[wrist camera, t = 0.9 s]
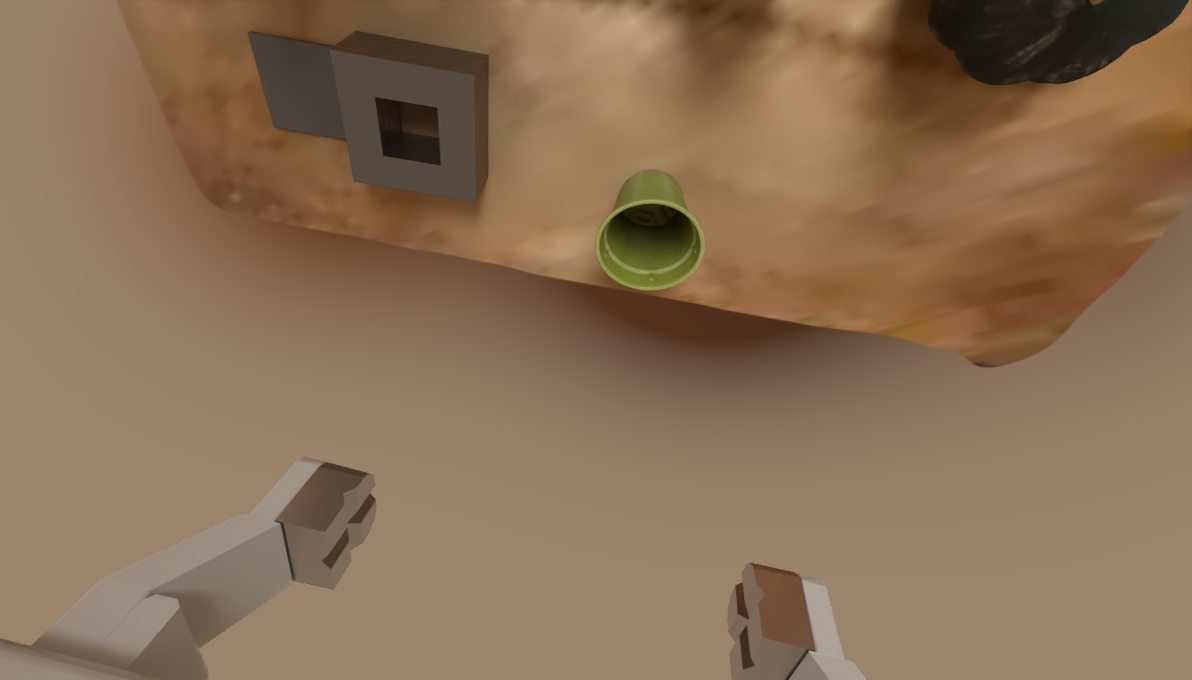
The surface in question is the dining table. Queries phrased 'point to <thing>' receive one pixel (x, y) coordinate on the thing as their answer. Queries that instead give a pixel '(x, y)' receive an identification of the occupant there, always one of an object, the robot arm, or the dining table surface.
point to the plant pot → (650, 235)
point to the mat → (298, 84)
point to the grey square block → (420, 76)
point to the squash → (1045, 35)
